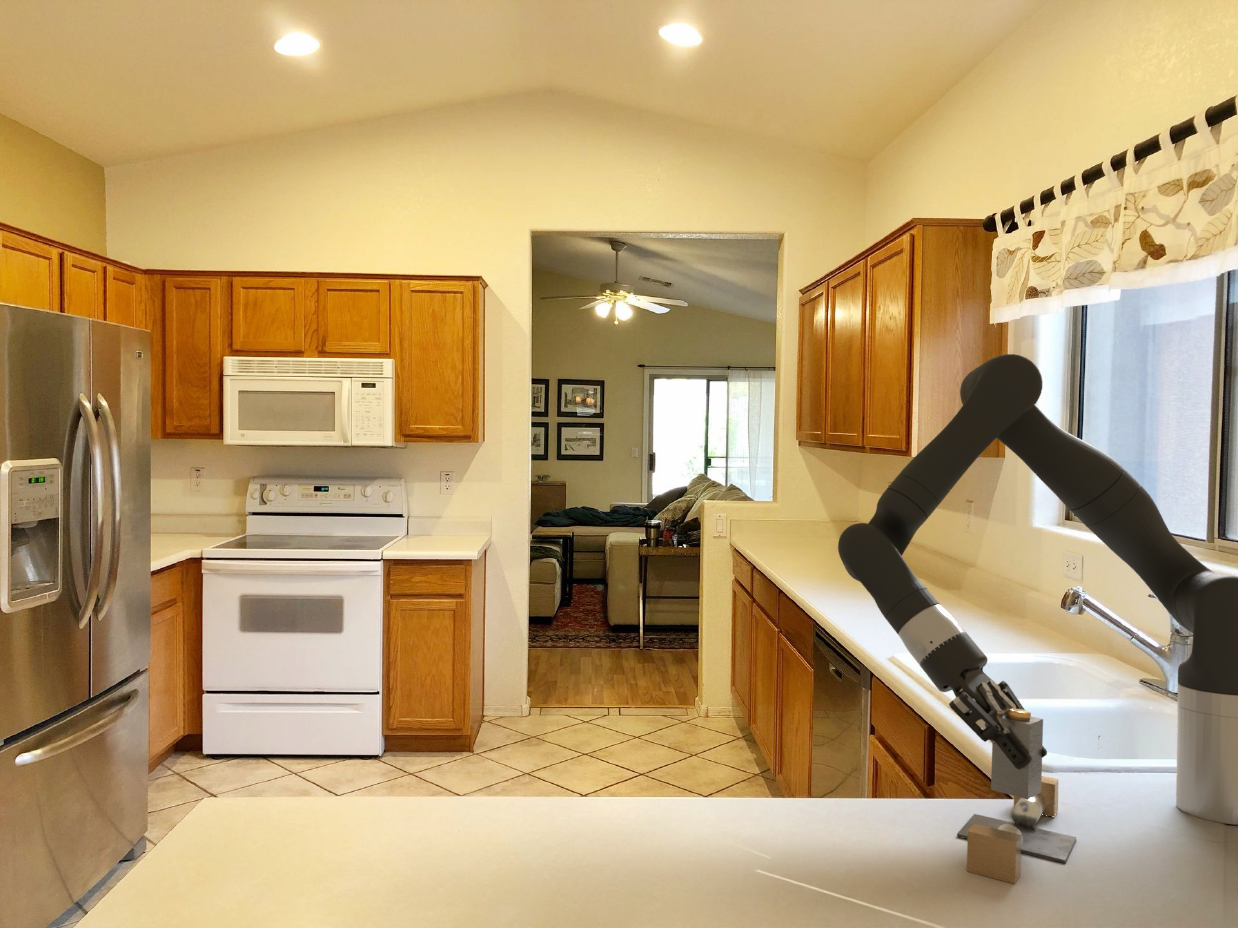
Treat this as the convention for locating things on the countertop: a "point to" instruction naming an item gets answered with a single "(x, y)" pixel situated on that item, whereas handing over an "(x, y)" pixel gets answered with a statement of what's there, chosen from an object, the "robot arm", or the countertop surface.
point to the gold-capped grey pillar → (1031, 738)
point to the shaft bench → (1015, 837)
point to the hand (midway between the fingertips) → (1033, 761)
